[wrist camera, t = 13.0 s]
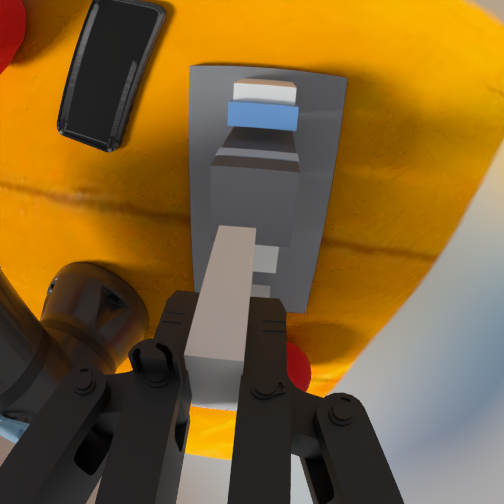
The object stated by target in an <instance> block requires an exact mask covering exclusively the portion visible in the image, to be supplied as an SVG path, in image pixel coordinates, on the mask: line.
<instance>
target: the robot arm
mask: <svg viewBox="0 0 504 504" xmlns="http://www.w3.org/2000/svg"><path fill="white" fill-rule="evenodd" d="M255 237H256V228H249V227H236V226H223V225H219V228H218V231H217V235H216V238H215V242H214V245H213V249H212V252H211V256H210V259H209V263H208V266H207V270H206V273H205V277H204V281H203V284H202V288H201V292H200V293H198V292H188V291H178V290H177V291H176V292H175V293H174V294H173V295H172V296H171V297H170V298H169V299H168V300H167V303H166V305H165V308H164V311H163V313H162V316H161V319H160V323H159V325H158V327H157V330H156V333H155V336H154V339H146V340H143V337H144V335H145V332H146V330H147V327H148V314H147V311H146V308H145V306H144V304H143V302H142V300H141V299H140V297H139V296H138V295H137V293H136V292H135V291H134V290H133V289H132V288H131V287H130V286H129V285H128V284H127V283H126V282H125V281H124V280H122V279H121V278H120V277H118V276H117V275H115V274H114V273H112V272H110V271H108V270H106V269H104V268H102V267H99V266H96V265H93V264H88V263H72V264H69V265H66V266H64V267H63V268H62V269H60V271H59V272H58V273H57V274H56V276H55V277H54V278H53V280H52V281H51V283H50V285H49V288H48V292H47V296H46V299H45V302H44V306H43V310H42V314H41V319H40V321H38V319H37V318H36V317H35V316H34V314H33V313H32V312H31V310H30V309H29V308H28V307H27V305H26V304H25V303H24V301H23V300H22V299H21V297H20V296H19V295H18V293H17V292H16V290H15V289H14V288H13V286H12V285H11V283H10V282H9V281H8V279H7V278H6V276H5V275H4V273H3V272H2V270H1V266H0V435H1V436H3V437H5V438H6V439H8V440H10V441H12V442H13V443H15V444H16V445H15V446H14V447H13V449H12V450H11V452H10V453H9V455H8V456H7V458H6V459H5V461H4V462H3V464H2V465H1V467H0V504H86V502H87V500H88V499H89V497H90V495H91V494H92V492H93V490H94V488H95V487H96V485H97V483H98V482H99V480H100V478H101V476H102V478H101V482H100V486H99V489H98V493H97V497H96V501H95V504H176V500H177V494H178V487H179V482H180V476H181V470H182V464H183V459H184V453H185V447H186V442H187V436H188V431H189V425H190V415H189V410H190V405H191V400H192V406H196V407H204V408H212V409H221V410H231V411H237V416H236V425H235V435H234V445H233V454H232V464H231V465H232V466H231V474H230V484H229V493H228V503H227V504H290V489H291V483H290V482H291V454H294V455H297V456H299V457H300V460H301V463H302V467H303V470H304V474H305V477H306V480H307V484H308V487H309V491H310V494H311V497H312V501H313V504H404V502H403V499H402V497H401V494H400V492H399V489H398V487H397V484H396V482H395V479H394V477H393V474H392V472H391V470H390V467H389V465H388V462H387V460H386V457H385V455H384V452H383V450H382V448H381V445H380V443H379V441H378V438H377V436H376V434H375V431H374V429H373V426H372V424H371V422H370V420H369V417H368V415H367V413H366V411H365V408H364V406H363V405H362V403H361V402H360V401H359V400H358V399H357V398H355V397H354V396H352V395H349V394H346V393H333V394H330V395H328V396H325V397H324V398H322V397H319V396H315V395H312V394H309V393H306V392H304V391H302V390H300V389H299V388H298V387H296V386H295V385H294V384H293V383H292V381H291V380H290V378H289V376H288V371H287V338H286V309H285V308H284V306H283V304H282V302H281V301H280V299H277V298H264V297H251V287H252V275H253V263H254V250H255ZM142 340H143V341H142ZM127 357H129V360H130V362H131V365H132V368H133V370H132V371H130V372H125V373H118V374H115V372H116V369H117V368H118V367H119V366H120V365H121V364H122V363H123V362H124V361H125V360H126V359H127Z"/></svg>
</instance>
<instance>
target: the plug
mask: <svg viewBox="0 0 504 504" xmlns="http://www.w3.org/2000/svg"><path fill="white" fill-rule="evenodd" d="M299 178H300V169H299V158H298V154H297V153H296V148H295V143H294V138H293V133H292V131H289V130H279V129H268V128H255V127H240V126H234V127H233V129H232V130H231V132H230V134H229V135H228V137H227V139H226V140H225V142H224V144H223V145H222V147H220V148H219V150H218V151H217V153H216V157H215V159H214V160H213V162H212V164H211V173H210V234H211V241H215V238H216V235H217V231H218V228H219V225H223V226H236V227H249V228H256V237H255V245H265V246H276V247H287V248H290V243H291V236H292V229H293V222H294V215H295V208H296V201H297V193H298V186H299Z"/></svg>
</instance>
